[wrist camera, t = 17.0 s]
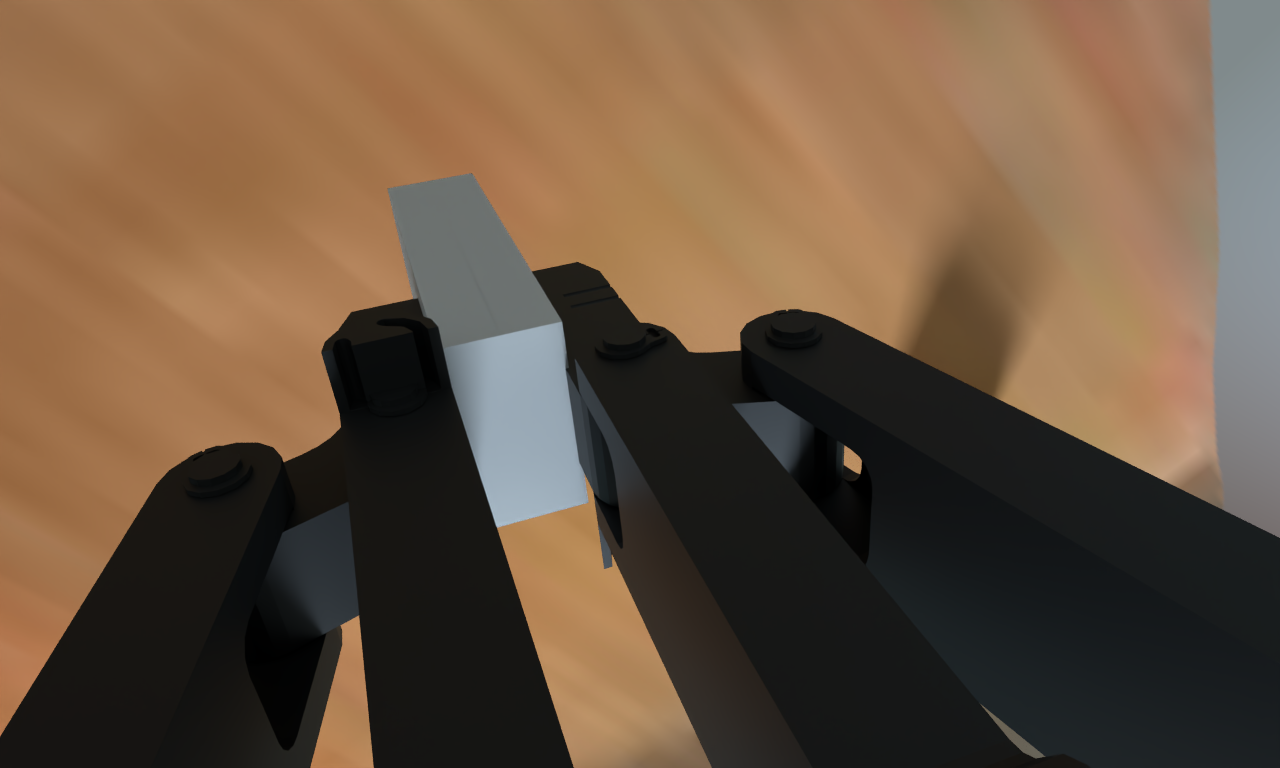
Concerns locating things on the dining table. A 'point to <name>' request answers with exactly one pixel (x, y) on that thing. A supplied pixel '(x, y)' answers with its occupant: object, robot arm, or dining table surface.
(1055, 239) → the dining table surface
